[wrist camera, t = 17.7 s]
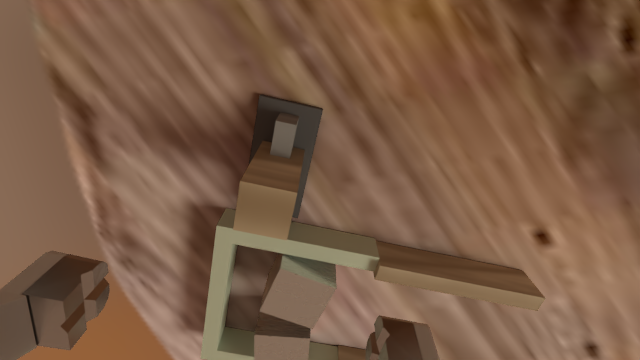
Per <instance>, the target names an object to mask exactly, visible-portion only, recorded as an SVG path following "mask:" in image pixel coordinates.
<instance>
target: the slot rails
mask: <svg viewBox="0 0 640 360" xmlns="http://www.w3.org/2000/svg"><path fill="white" fill-rule="evenodd" d="M376 245H377V249H378V253H379V257H380V258H379V261H378V264H377V266H376V269H375V272H374V271H373V272H374V277H375V280H380V281H385V282H390V283H395V284H400V285H406V286H411V287H416V288H421V289H426V290H431V291H437V292H442V293H447V294H452V295H457V296H462V297H468V298H473V299H478V300H483V301H488V302H493V303H499V304H504V305H509V306H514V307H519V308H524V309H530V310H535V311H538V309H539V307H540V306H541V304H542V303H543V301H544V300H545V297H544V296H543V295H542V294H541V292H540V291H539V290H538V289H537V287H536V286H535V285H534V284H533V282H532V281H531V280H530V279H529V278H528V276H527V275H526V274H525V273H524V271H522V270H517V269H512V268H508V267H503V266H498V265H493V264H488V263H483V262H478V261H473V260H468V259H463V258H458V257H453V256H448V255H443V254H438V253H433V252H428V251H424V250H419V249H414V248H409V247H404V246H399V245H394V244H389V243H384V242H379V241H376ZM365 357H366V350H363V349H358V348H352V347H347V346H341V345H338V360H365Z"/></svg>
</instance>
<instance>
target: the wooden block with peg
mask: <svg viewBox="0 0 640 360" xmlns="http://www.w3.org/2000/svg"><path fill="white" fill-rule="evenodd" d="M298 120H299V116H296V115H291V114H287V113H282V112H280V114H279V116H278V118H277V119H276V123H275V128H274V134H273V140H272V143H271V142H267V141H262V143H261V145H260V147H259V148H258V150H257V152H256V154H255V155H254V157H253V159H252V161H251V162H250V164H249V166H248V168H247V170H246V171H245V173H244V175H243V177H242V178H241V180H240V185H239V192H238V199H237V206H236V213H235V220H234V227H233V230H236V231H241V232H246V233H252V234H257V235H262V236H267V237H272V238H277V239H282V240H287V238H288V233H289V229H290V224H291V220H292V215H293V211H294V206H295V202H296V197H297V193H298V187H299V181H300V175H301V169H302V164H303V158H304V152H305V150H303V149H299V148H294V147H293V144H294V139H295V135H296V130H297V125H298Z"/></svg>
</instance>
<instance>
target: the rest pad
mask: <svg viewBox="0 0 640 360" xmlns="http://www.w3.org/2000/svg"><path fill="white" fill-rule="evenodd" d="M322 111H323V109H322V108H318V107H313V106H309V105H304V104H300V103H296V102H291V101H287V100H283V99H278V98H274V97H270V96H265V95H260V96H259V102H258V109H257V115H256V122H255V128H254V135H253V142H252V148H251V155H250V161H249V164H250V162H251V161H252V159H253V157H254V155H255V154H256V152H257V150H258V148H259V147H260V145H261V143H262V141H267V142H271V143H272V140H273V134H274V128H275V123H276V119H277V118H278V116H279V114H280V112H282V113H287V114H291V115H296V116H299V120H298V125H297V130H296V135H295V139H294V144H293V147H294V148H299V149H303V150H305V152H304V158H303V164H302V169H301V175H300V181H299V187H298V193H297V197H296V202H295V206H294V211H293V215H292V217H294V218H298V215H299V210H300V206H301V202H302V197H303V193H304V189H305V184H306V180H307V176H308V171H309V167H310V163H311V158H312V154H313V150H314V145H315V141H316V137H317V132H318V128H319V124H320V119H321V115H322Z"/></svg>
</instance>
